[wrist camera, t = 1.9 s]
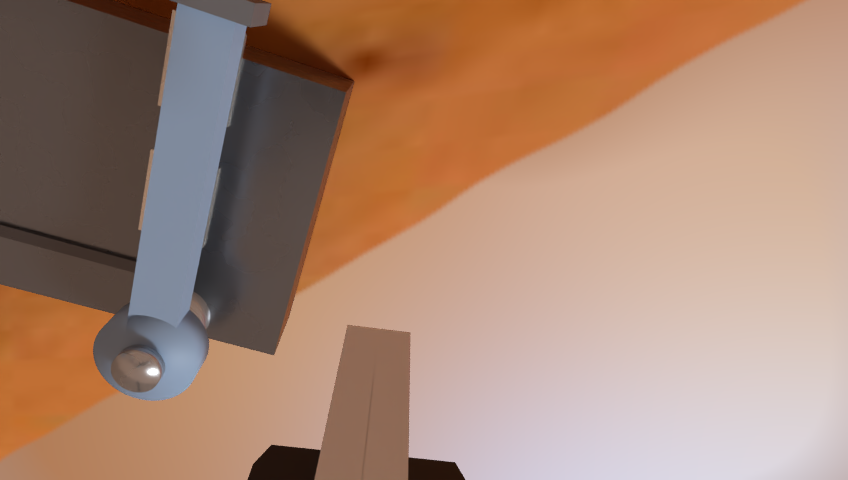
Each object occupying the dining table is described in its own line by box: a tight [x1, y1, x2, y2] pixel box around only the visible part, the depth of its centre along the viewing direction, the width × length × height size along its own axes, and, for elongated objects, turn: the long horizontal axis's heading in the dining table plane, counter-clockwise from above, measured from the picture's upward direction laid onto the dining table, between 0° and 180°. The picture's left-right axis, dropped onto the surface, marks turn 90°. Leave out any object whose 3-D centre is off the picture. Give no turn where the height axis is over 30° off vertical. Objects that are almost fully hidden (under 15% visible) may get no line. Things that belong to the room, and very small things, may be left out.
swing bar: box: [93, 0, 271, 401], centre depth 23 cm, size 18×4×2 cm, turn 161°
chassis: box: [0, 0, 354, 393], centre depth 25 cm, size 18×16×9 cm
